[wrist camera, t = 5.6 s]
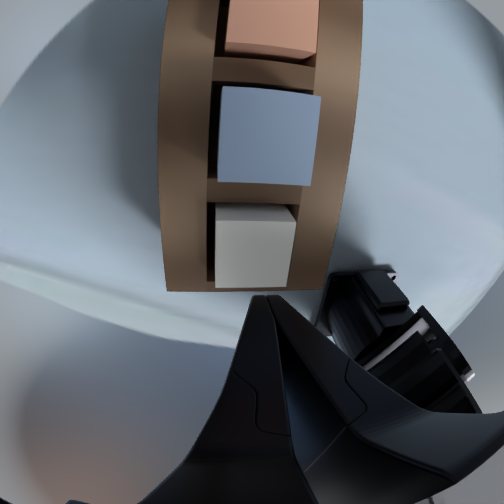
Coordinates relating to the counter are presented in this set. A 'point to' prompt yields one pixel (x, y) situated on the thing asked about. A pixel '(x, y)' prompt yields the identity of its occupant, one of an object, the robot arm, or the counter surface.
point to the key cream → (252, 244)
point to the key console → (206, 139)
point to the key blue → (267, 136)
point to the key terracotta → (271, 29)
